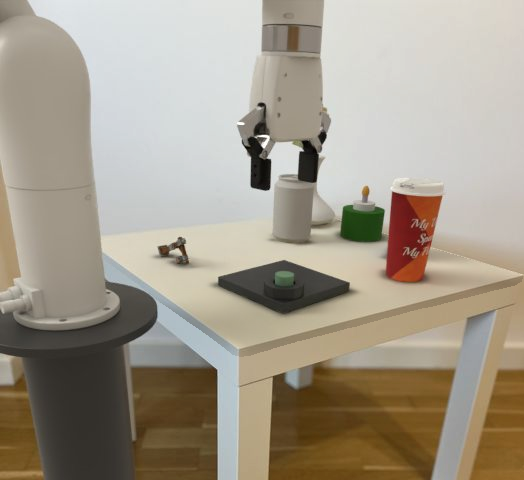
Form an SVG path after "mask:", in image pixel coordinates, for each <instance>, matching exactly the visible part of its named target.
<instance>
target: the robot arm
mask: <svg viewBox="0 0 524 480" xmlns="http://www.w3.org/2000/svg"><path fill="white" fill-rule="evenodd" d="M261 5H262V8H261V9H262V10H261V40H260V41H261V42H260V43H261V44H260V50H261V51H260V55H256V57H255V62H254V66H253V71H252V77H251V78H252V79H251V84H250V94H249V104H248V105H249V108H248V113H247V114H245V116H244V117H242V118H241V119H240V120H238V122H237V124H236V127H237V130H238V133H239V136H240V139H241V145H242V146H243V147H244V149H245V150H246V156H247V157H248V158H250V176H249V177H250V179H249V180H250V183H249V184H250V188H251V189H255V190H260V191H264V192H268V191H270V190H271V186H272V185H271V183H272V159H271V158H268V157H269V156H270V154H271V152H272V150H273V148H274V147H275V144H276V143H290V142H291V143H293V141H299V143H300V145H301V147H302V148H301V147H300V148H301V149H302V150H300V151H299V152H298V165H297V174H298V180H300V181H305V182H310V183H316V182H317V183H318V177H317V174H318V175H319V172H318V161H319V156H320V154H321V153H322V151H323V145H324V143H325V142H326V140H327V137H328V132H329V129H330V126H331V124H332V118H331V117H330V115H329V116H327V115H326V114H325V113H324V112H323V111H322V103H323V101H324V97H323V96H324V95H323V93H324V92H323V91H324V89H323V88H324V87H323V86H324V85H323V66H322V58H321V53H322V40H323V25H324V24H323V23H324V11H325V0H262V4H261ZM91 93H92V92H91V80H90V74H89V69H88V66H87V62H86V59H85V57H84V55H83V53H82V50H81V49H80V47H79V46H78V44H77V43H76V41H75V40H74V38H73V37H72V36H71V34H69V32H68V31H66V30H65V29H64V28H63V27H61V26H60V25H58V24H57V23H55V22H54V21H52V20H50V19H48V18H45V17H42V16H38V15H37V14H36V12H35V10H34V9H33V7H32V6H31V4H30V2H29V0H0V166H1V172H2V178H3V184H4V186H5V192H6V198H7V203H8V209H9V214H10V220H11V221H10V222H11V227H12V231H13V233H12V234H13V238H14V245H15V250H16V255H17V261H18V267H19V272H20V273H19V274H20V277H14V278H13V279H12V280H13V286H9V287H7V288H6V289H7V290H4V291H0V309H1V311H2V313H3V314H6V313H10V312H13V315H14V318H15V320H16V321H17V322H18V323H20V324H21V325H24V326H26V327H29V328H33V329H38V330H48V331H63V330H74V329H80V328H86V327H90V326H93V325H97V324H99V323H102V322H105V321H107V320H108V319H110V318H112V317H113V316H114V315H116V314H117V312H118V311H119V309H120V299H119V297H118V295H116V294H115V293H114V292H112V291H110V290H107V289H106V285H105V282H106V276H105V266H104V257H103V247H102V238H101V228H100V227H101V226H100V218H99V217H100V216H99V208H98V207H99V206H98V197H97V188H96V180H95V170H94V160H93V148H92V129H91V128H92V126H91V125H92V123H91V121H92V119H91V117H92V116H91V115H92V112H91V111H92V95H91Z"/></svg>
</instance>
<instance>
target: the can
mask: <svg viewBox="0 0 524 480" xmlns="http://www.w3.org/2000/svg"><path fill="white" fill-rule="evenodd" d="M277 177H278V180H277V181H276V182H274V187H273V209H272V210H273V211H272V236H274V238H275V239H276V240H277V241H279V242H282V243H289V244H299V243H303V242H305V241H307V240H308V239H309V238H310V237H311V235H312V234H311V233H312V225H311V222H312V208H313V195H314V185H313V183H310V182H305V181H300V180H298V173H284V174H280V175H278V176H277Z"/></svg>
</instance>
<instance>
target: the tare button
mask: <svg viewBox="0 0 524 480" xmlns="http://www.w3.org/2000/svg"><path fill="white" fill-rule="evenodd" d="M275 284H276V285H279V286H292V285H293V284H294V274H293V273H292V272H288V271H279V272H276V273H275Z"/></svg>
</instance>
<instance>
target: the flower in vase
mask: <svg viewBox="0 0 524 480" xmlns="http://www.w3.org/2000/svg"><path fill="white" fill-rule="evenodd" d="M322 111H323V112H324V113H325V114H326V115H327V116H329V117H330V114H329V113H328V108H327V107H325V106H324V104H323V102H322ZM291 144H292V145H294V146H295V147H296V146H297V147H299V148H300V149H302V147H301V145H300V143H299V141H292V142H291ZM325 159H326V156H325V155H319V161H318V174H317V178H318V176H319V172H320V168H321V166H322V163H323V161H325ZM313 185H314V195H313V208H312V222H311V226H313V225H325V224H328V223H330V222H333V221H334V220H335V218H336V213H335V211H334V209H333V208H332V207H331V206H330V205H329V204H328V203H327V202H326V201H325V200H324V199H323V198H322V197H321V196H320V194H319V192H318V181H317V182H316V183H313Z"/></svg>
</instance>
